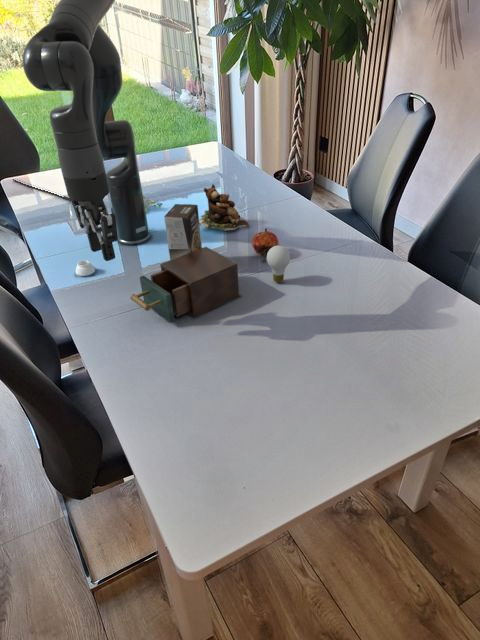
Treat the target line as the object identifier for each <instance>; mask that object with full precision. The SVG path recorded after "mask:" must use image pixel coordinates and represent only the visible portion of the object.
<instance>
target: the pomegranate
mask: <svg viewBox="0 0 480 640" xmlns="http://www.w3.org/2000/svg"><path fill="white" fill-rule="evenodd" d="M267 229H268V228H266V227H265V228H264V231H261V232H260V231H259V232H257V233H256V234H255V235H254V236H253V237H252V241H251V246H252V248H253V250H254V251H255V253H256V254H257V255H263V261H265V259H266V255H267V253H268V251H269V250H270V249H271V248H272V247H274V246H280V245H279V239H278V236H277V235H276V234H275V233H274V232H271V231H269V230H267Z"/></svg>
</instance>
